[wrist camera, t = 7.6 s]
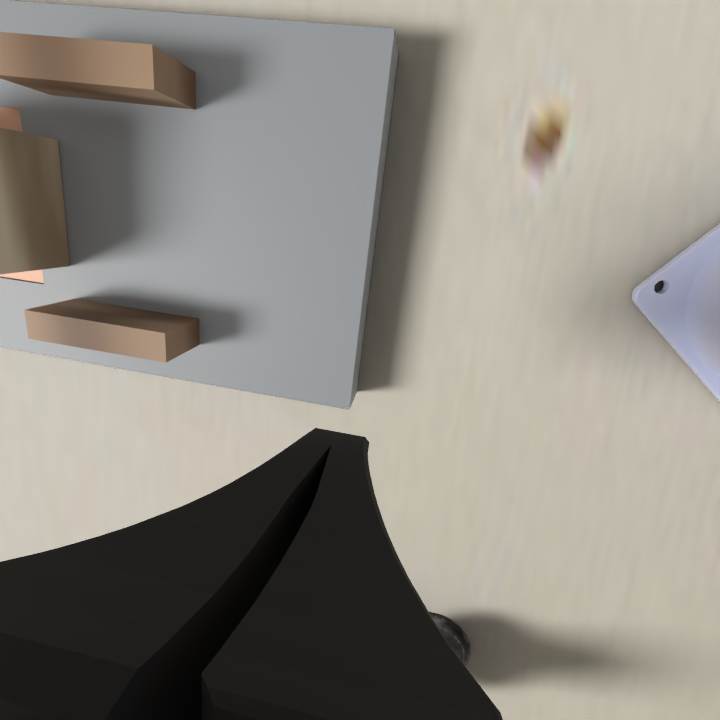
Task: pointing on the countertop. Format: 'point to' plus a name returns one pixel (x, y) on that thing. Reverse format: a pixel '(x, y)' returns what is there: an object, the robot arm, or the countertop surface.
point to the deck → (221, 195)
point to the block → (31, 204)
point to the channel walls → (119, 84)
